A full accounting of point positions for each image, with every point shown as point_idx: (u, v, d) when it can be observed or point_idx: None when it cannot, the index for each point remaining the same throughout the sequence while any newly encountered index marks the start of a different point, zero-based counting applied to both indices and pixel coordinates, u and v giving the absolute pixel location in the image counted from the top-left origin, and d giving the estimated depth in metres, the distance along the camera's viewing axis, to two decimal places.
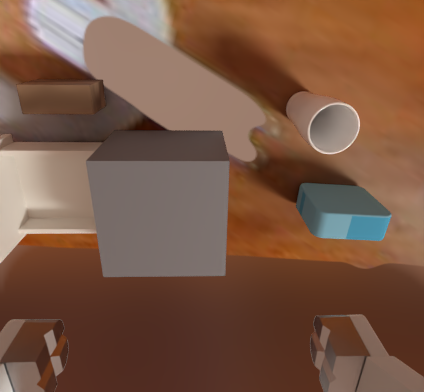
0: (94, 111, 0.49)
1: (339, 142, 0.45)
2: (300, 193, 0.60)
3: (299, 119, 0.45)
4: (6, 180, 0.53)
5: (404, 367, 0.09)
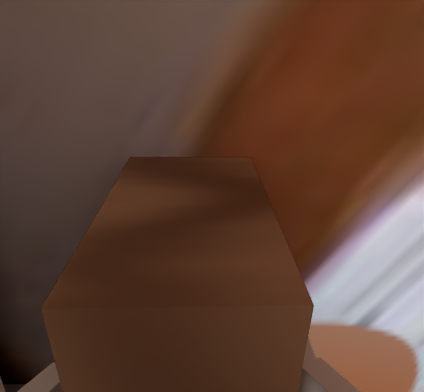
0: None
1: None
2: None
3: None
4: None
5: (328, 368, 0.09)
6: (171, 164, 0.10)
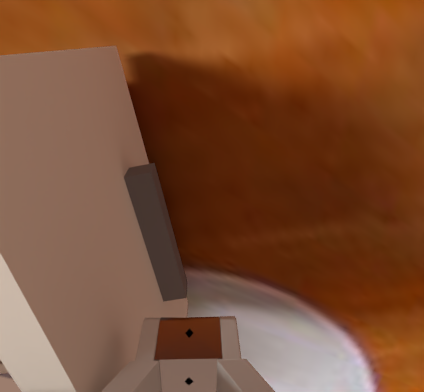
0: None
1: None
2: None
3: None
4: None
5: (250, 370, 0.09)
6: None
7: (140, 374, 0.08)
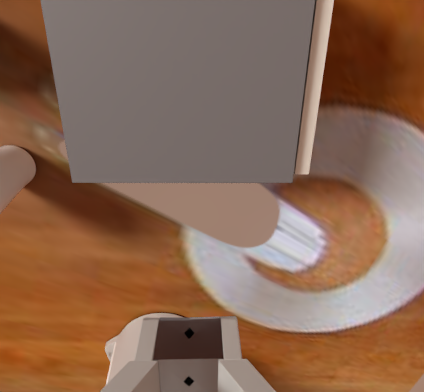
0: None
1: None
2: None
3: None
4: None
5: (251, 370, 0.09)
6: None
7: (139, 374, 0.08)
